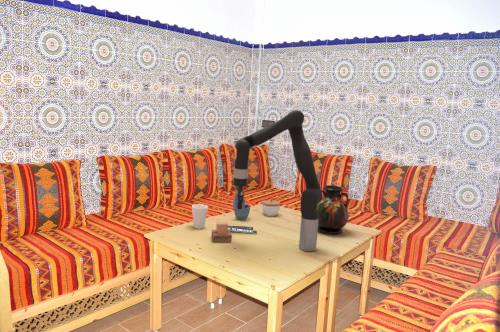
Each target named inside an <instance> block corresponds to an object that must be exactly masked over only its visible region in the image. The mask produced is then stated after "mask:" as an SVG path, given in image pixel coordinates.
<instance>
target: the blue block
mask: <svg viewBox="0 0 500 332" xmlns="http://www.w3.org/2000/svg"><path fill="white" fill-rule="evenodd" d="M240 200H241V198H240ZM245 205H246V199H245V198H244V199H243V202H242V209H238V198H237V197H235V196H234V197H233V201H232V208H233V211H234V210H244V209H245Z"/></svg>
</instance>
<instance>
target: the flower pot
mask: <svg viewBox="0 0 500 332" xmlns="http://www.w3.org/2000/svg"><path fill="white" fill-rule="evenodd" d="M233 211H234V216H235V218H236V220H237V221H246V220H247V219H248V217H249V215H250V212H251V205H250V204H245V209H244V210H234V209H233Z"/></svg>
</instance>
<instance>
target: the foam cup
mask: <svg viewBox="0 0 500 332" xmlns="http://www.w3.org/2000/svg"><path fill="white" fill-rule="evenodd" d="M208 208H209V207H208V205H206V204H201V203H200V204H198V203H197V204H196V203H195V204H192V206H191V211H192V221H193V222H192V223H193V228H194V229H198V230H199V229H200V230H201V229H204V228H205V227H206V225H205V224H206V219H207V215H208V210H209V209H208Z"/></svg>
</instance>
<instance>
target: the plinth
mask: <svg viewBox="0 0 500 332" xmlns="http://www.w3.org/2000/svg"><path fill="white" fill-rule="evenodd" d="M232 235H233V234H232V233H231V230H230V229H227V234H217V232H216V229H211V239H212V244H213V243H214V244H215V243H218V244H219V243H232V239H233V238H232V237H233V236H232Z"/></svg>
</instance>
